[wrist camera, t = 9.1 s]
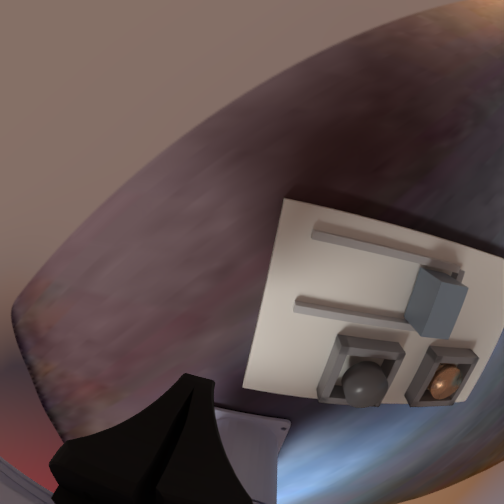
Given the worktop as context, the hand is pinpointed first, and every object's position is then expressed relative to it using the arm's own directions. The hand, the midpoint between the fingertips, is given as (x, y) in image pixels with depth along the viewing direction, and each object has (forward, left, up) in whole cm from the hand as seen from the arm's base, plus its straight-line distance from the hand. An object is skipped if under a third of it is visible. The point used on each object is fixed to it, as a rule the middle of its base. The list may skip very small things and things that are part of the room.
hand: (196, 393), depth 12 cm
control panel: (+1, -13, -9) cm, 16 cm away
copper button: (-2, -18, -8) cm, 20 cm away
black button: (-2, -10, -6) cm, 12 cm away
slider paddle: (+4, -13, -8) cm, 16 cm away
